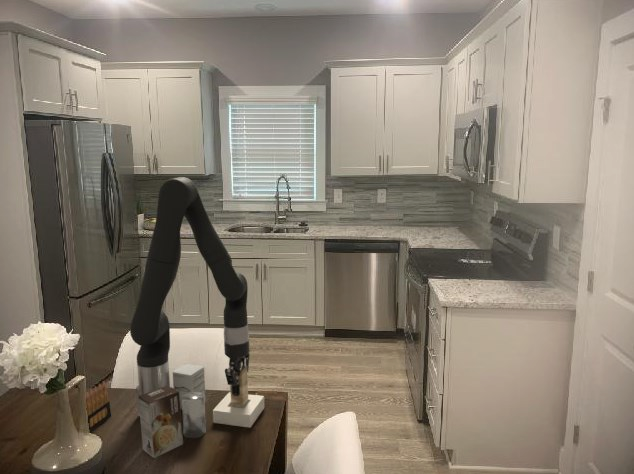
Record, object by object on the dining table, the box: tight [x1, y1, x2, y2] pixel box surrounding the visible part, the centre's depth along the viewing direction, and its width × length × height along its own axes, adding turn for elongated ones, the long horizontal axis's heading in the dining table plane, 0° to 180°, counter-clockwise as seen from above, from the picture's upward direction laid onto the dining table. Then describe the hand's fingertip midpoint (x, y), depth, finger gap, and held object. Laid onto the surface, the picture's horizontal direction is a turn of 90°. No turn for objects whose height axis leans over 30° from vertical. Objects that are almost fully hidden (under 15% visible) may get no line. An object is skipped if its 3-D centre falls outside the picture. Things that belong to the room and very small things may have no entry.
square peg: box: [229, 366, 249, 405], centre depth 154 cm, size 4×4×11 cm
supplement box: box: [172, 363, 206, 410], centre depth 161 cm, size 7×7×13 cm
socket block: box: [212, 391, 265, 428], centre depth 155 cm, size 12×12×4 cm
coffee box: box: [138, 385, 184, 459], centre depth 138 cm, size 9×6×16 cm
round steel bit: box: [181, 392, 207, 439], centre depth 145 cm, size 6×6×11 cm
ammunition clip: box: [85, 380, 112, 433], centre depth 150 cm, size 11×2×12 cm, turn 164°
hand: (239, 391), depth 154 cm, fingers closed on square peg, 4 cm apart
